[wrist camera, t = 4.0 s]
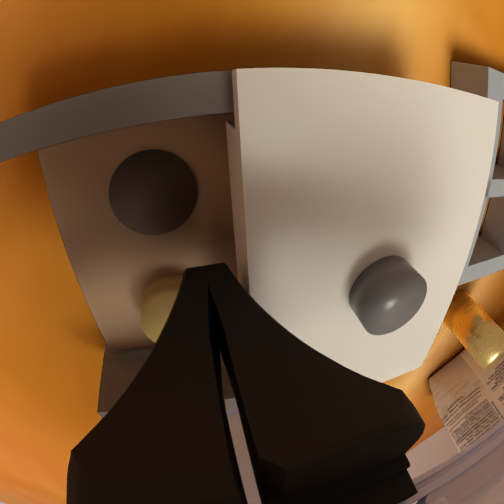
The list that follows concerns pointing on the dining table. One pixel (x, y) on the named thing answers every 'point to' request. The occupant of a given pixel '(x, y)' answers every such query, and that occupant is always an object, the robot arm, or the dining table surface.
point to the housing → (136, 201)
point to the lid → (356, 206)
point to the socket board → (500, 177)
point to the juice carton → (468, 398)
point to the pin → (475, 330)
